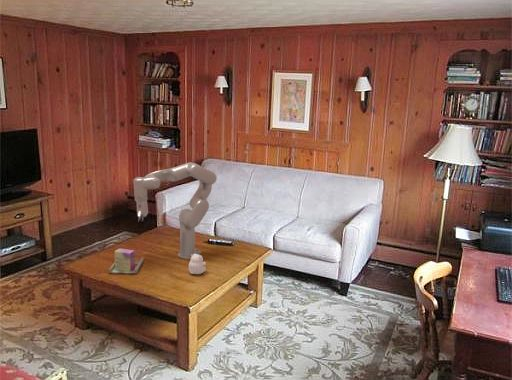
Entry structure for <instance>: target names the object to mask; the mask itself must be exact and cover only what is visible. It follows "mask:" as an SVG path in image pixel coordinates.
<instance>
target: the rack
mask: <svg viewBox="0 0 512 380" xmlns="http://www.w3.org/2000/svg"><path fill="white" fill-rule="evenodd" d="M144 262H145V257H144V256H142V257H141V258H140V259H135V269H134V270H132V271H131V272H128V271H122V270H115V261H114V262H113V263H112V265H111V266H110V267H109V268H108V275H123V276H125V275H127V276H128V275H132V276H133V275H135V276H136V275H137V274H138V273H139V271H140V269H141V267H142V266H143V264H144Z"/></svg>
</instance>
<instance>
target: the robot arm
mask: <svg viewBox="0 0 512 380" xmlns="http://www.w3.org/2000/svg"><path fill="white" fill-rule="evenodd" d="M188 177H189V178H190V177H192V178H194V179H196V180H198V182H199V185H198V188H197V190H195V192H194V194H193V195H192V197H191V199H190V200H189V207H190V208H191V209H189V208H184V209H181V211H180V212H179V214H178V221H179V248H180V249H179V251H178V253H177V257H179V258H180V259H184V260H185V259H186V260H187V259H188V260H189V259H190V260H191V257H192V256H191V254H192V255H193V254H199V255H201V254H202V250H200V249H196V247H195V246H196V245H195V241H196V240H195V239H196V237H195V234H196V233H195V232H196V227H197V226H199V224H200V223H201V222H202V220H203V219H204V217H205V216H206V214H207V212H208V210H209V208H210V205H209V202H208V201H209V200H207V199H208V198H209V196H210V194H211V191H212V189H213V187H212V185H214V184H215V183H216V182H217V174H216V173H215V172H214V171H211V170H210V169H207V168H205V167H203V166H201V165H199V164H197V163H195V162H189V161H188V162H187V163H183V164H180V165H177V166H175V167H170V168H166V169H160V170H156V171H154V172H153V171H152V172H150V173H147V174H146V175H145V176H139V177H134V178H133V181H132V182H133V193H134V195H133V196H134V201H135V202H136V214H137V217H138V218H137V223H138V228H144V227H145V223H147V222H148V216H147V215H148V214H149V207H148V190H156V189H158V188H160V186H161V182H179V181H180V180H183V179H185V178H188Z"/></svg>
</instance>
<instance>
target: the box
mask: <svg viewBox="0 0 512 380" xmlns="http://www.w3.org/2000/svg"><path fill="white" fill-rule="evenodd" d="M135 260H136V250H135V249H134V250H133V249H126V248H120V247H119V248H118V249H116V250H114V262H115V270H122V271H128V272H131V271H132V270H134V269H135Z"/></svg>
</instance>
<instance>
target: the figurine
mask: <svg viewBox="0 0 512 380" xmlns="http://www.w3.org/2000/svg"><path fill="white" fill-rule="evenodd" d="M191 256H192V257H191V258H190V261H189V263H188V270H189V272H190V275H193V274H194V275H201V274H202V273H203V274H204V273H205V271H206V269H207V267H206V264H207V262H206V261H204V258H203V255H201V254H198V253H197V254H193V255H192V254H191Z"/></svg>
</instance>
